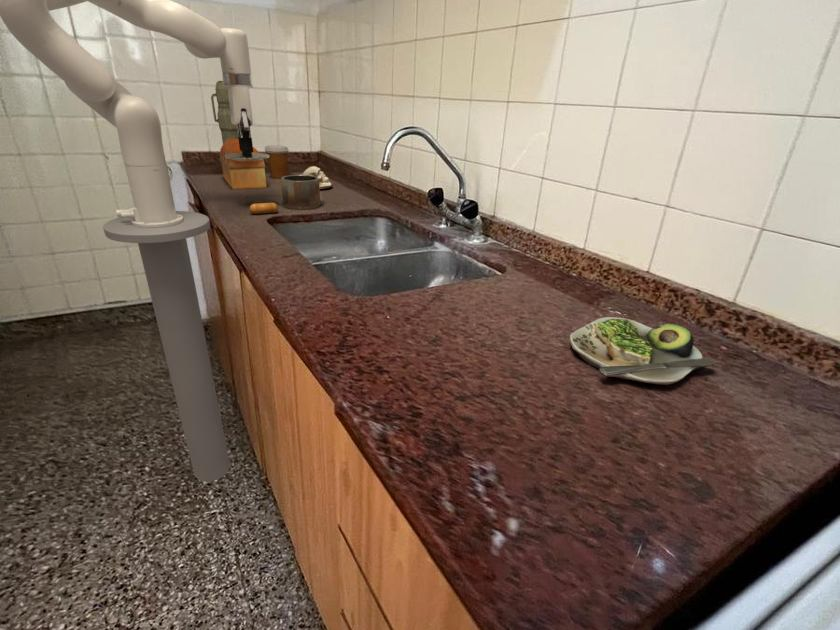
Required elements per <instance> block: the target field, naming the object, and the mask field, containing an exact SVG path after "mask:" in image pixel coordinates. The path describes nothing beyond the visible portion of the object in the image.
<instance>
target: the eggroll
mask: <svg viewBox="0 0 840 630" xmlns="http://www.w3.org/2000/svg"><path fill="white" fill-rule="evenodd" d="M278 210H279V207H278V205H277V203H275V202H259V203H252V204H250V206H249V212H250V213H251V214H253V215H263V214H275V213H277V212H278Z"/></svg>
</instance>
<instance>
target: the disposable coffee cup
mask: <svg viewBox="0 0 840 630" xmlns="http://www.w3.org/2000/svg"><path fill="white" fill-rule="evenodd" d="M289 151H290V150H289V148H288V146H287V145H274V144H273V145H266V146H264V152H265V154H268V155H269V158H266V160H267V164H268V169H269V173H270V177H271V178H273V179H281V178H282V177H284V176H288V161H289V160H288V158H289V157H288V156H289Z"/></svg>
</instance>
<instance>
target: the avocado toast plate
mask: <svg viewBox="0 0 840 630" xmlns="http://www.w3.org/2000/svg"><path fill="white" fill-rule="evenodd" d="M568 340H569V343H570V345H571V348H572V349H573V350H574V351H575V352H576V353H577V354H578V355H579V356H580V358H581V359H582V360H583V361H585V362H586V363H587V364H589V365H590V366H592V367H594V368H597V369H598V371H599V373H600V374H601V375H602V376H605V377H608V378H609V377H610V378H611V377H613V378H614V377H615V378H617V379H621V380H626V381H627V380H628V381H633V382H634V381H635V382H639V383H646V384H654V385H662V386H668V385H672V384H675V383H677V382H679V381H681V380H683V379H685V377H686V376H688V375H689V374H690V373H692V372H693V371H695V370H698V369H702V368H706V367H711V366H713V365H716V364H717V362H716V361H717V360H716V359H715V358H713V357H704V356H703V354H702V352H701V351H700V350H699V349H698V347H696V346H694V336H693V334H692V332H691V330H689V329H688V327H687V328H686V327H685V326H682V325H678V324H675V323H663V324H659V325H658V327H650V326H648V325H645V324H643V323H640V322H639V321H636V320H633V319H630V318H624V317H619V316H616V317H615V316H612V317H611V316H607V317H605V316H604V317H600V318H597V319H596V320H593V321H591V322H590V323H588V324H586V325H584V326H582V327H581V328H578V329H575V331H573V332H572V333H570V335H569V339H568Z"/></svg>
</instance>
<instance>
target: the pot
mask: <svg viewBox="0 0 840 630" xmlns="http://www.w3.org/2000/svg"><path fill="white" fill-rule="evenodd" d="M280 183H281V191H282V192H281V193H282V203H283V206H284V207H285V208H288V209H291V210H310V209H311V210H312V209H316V208H320V206H321V189H320V186H319V178H318V177H315V176H309V175H303V174H293V175H291V174H290V175H287V176H284V177H282V178H280Z"/></svg>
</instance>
